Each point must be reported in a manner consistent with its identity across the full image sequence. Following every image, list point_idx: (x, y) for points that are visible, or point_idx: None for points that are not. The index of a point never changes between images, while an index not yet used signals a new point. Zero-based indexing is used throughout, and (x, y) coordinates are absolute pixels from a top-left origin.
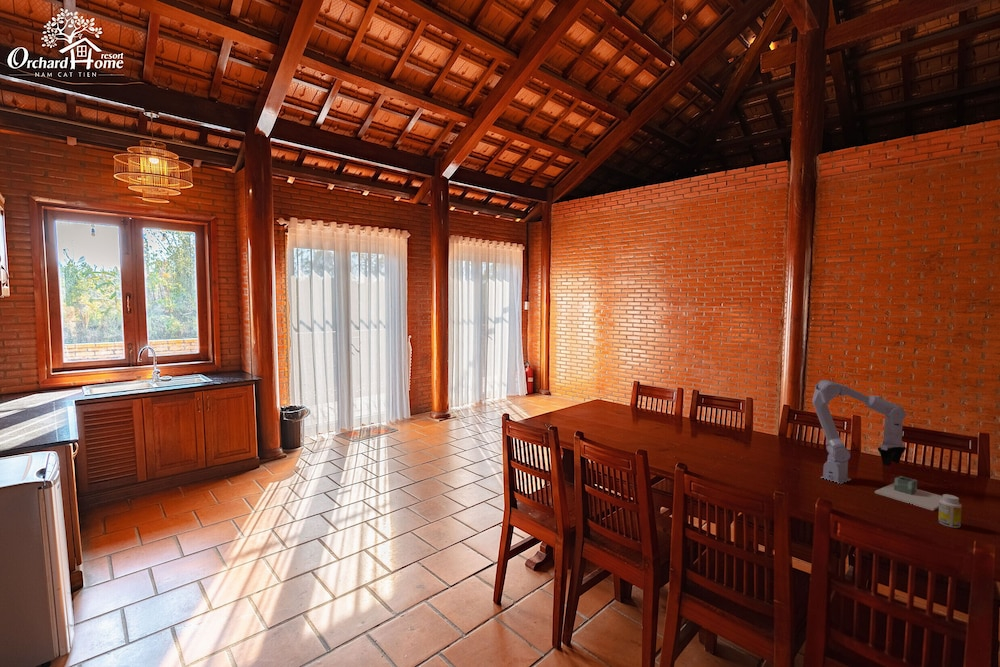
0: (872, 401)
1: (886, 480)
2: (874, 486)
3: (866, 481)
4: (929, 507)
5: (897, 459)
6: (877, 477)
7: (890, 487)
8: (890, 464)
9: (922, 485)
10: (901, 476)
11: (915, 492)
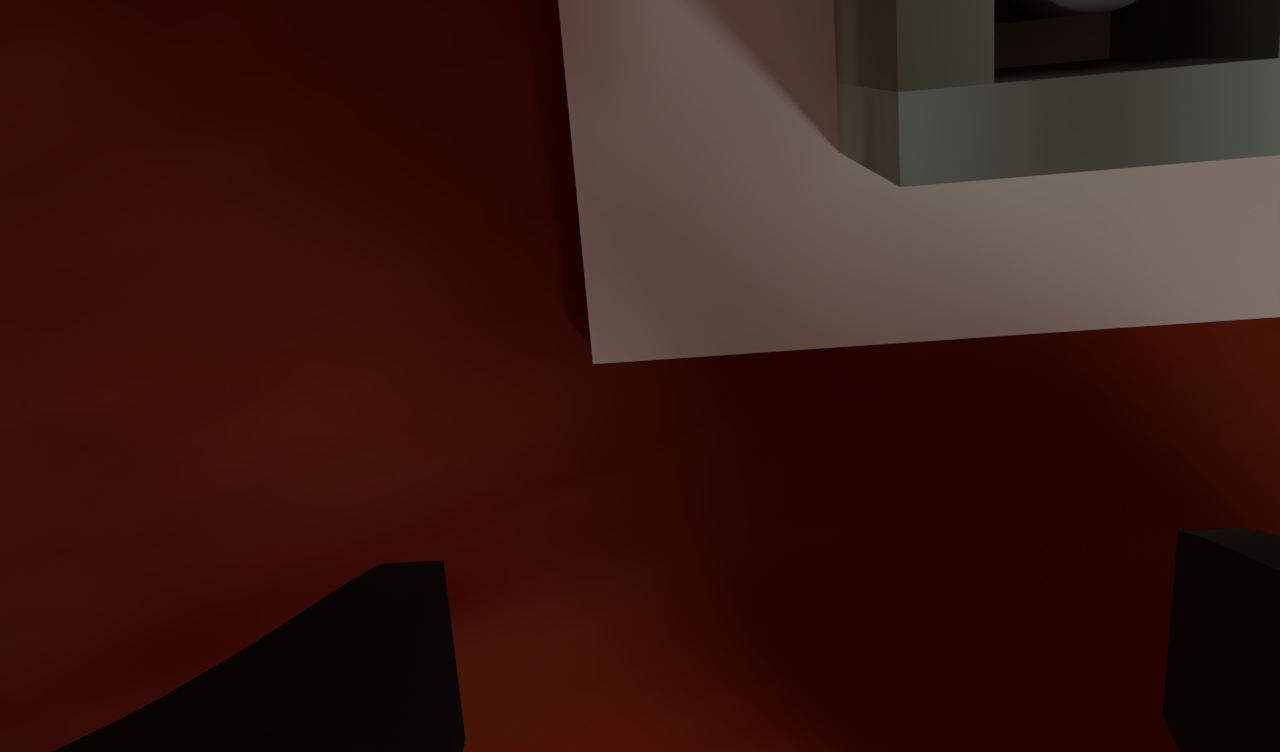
0: None
1: (485, 543)
2: (1148, 478)
3: (960, 687)
4: None
5: (397, 670)
6: (473, 704)
7: (1056, 245)
8: (1248, 544)
9: (20, 36)
10: (949, 135)
11: None
